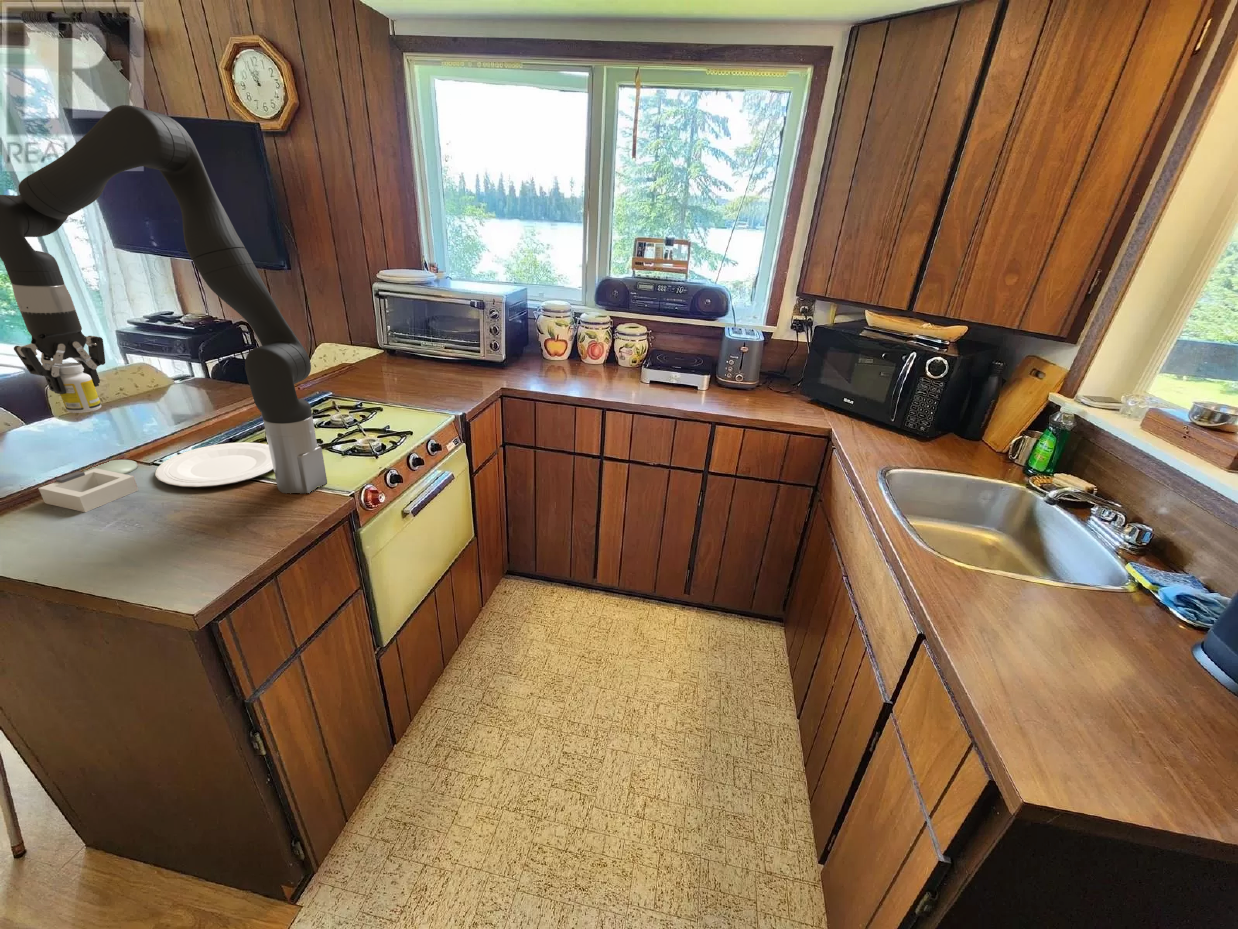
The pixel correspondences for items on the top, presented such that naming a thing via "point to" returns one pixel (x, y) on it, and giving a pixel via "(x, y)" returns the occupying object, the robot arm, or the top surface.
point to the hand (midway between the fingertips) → (77, 389)
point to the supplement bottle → (78, 389)
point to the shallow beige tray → (88, 489)
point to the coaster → (117, 466)
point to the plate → (216, 465)
